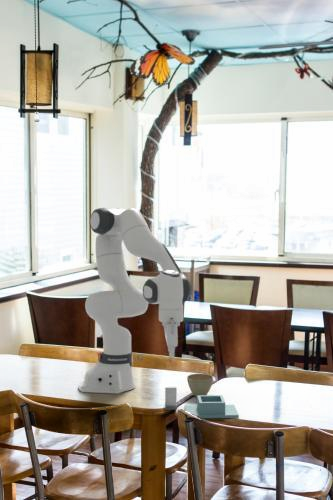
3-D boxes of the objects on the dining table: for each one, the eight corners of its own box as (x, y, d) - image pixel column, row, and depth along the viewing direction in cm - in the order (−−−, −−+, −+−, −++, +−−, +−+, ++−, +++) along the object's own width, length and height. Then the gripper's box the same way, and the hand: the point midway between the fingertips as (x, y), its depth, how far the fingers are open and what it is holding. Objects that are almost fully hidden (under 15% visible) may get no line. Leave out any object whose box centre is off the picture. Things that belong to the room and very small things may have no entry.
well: (186, 418, 245) (186, 404, 244) (184, 407, 257) (184, 394, 256) (238, 417, 246) (238, 403, 245) (234, 407, 258) (234, 393, 257)
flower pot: (185, 391, 278) (185, 373, 277) (210, 391, 278) (211, 373, 278) (188, 399, 268) (188, 380, 267) (214, 398, 269) (214, 380, 268)
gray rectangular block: (165, 409, 255) (165, 387, 254) (164, 406, 259) (164, 384, 258) (176, 409, 255) (176, 387, 254) (175, 406, 259) (175, 384, 258)
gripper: (181, 321, 243) (181, 360, 244) (178, 311, 263) (178, 348, 264) (163, 321, 242) (163, 361, 243) (161, 311, 263) (161, 348, 264)
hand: (171, 354), depth 254 cm, fingers open, 8 cm apart
